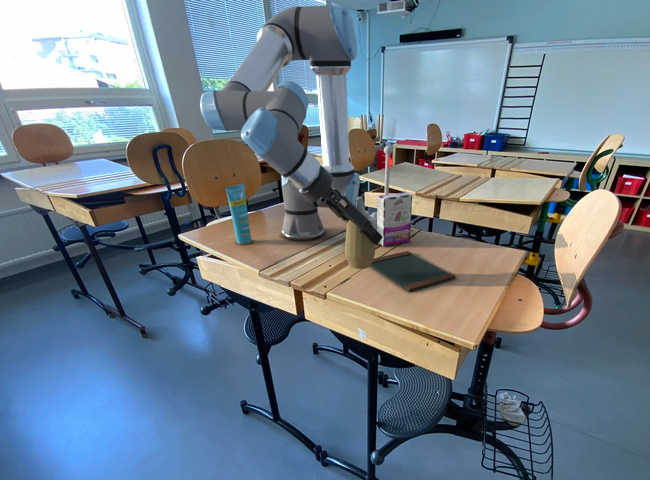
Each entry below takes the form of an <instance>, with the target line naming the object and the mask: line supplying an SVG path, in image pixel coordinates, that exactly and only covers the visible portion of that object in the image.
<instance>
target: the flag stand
mask: <svg viewBox="0 0 650 480" xmlns="http://www.w3.org/2000/svg"><path fill="white" fill-rule="evenodd" d="M383 152H384V154H385V166H384V167H385V170H384V195H388V194H390V193H389V191H390V168H391V166H393V165H394V161H393V159H392V158H391V155H392V153H393V147H392V146H391V145H386V146H384V148H383ZM369 220H371V221H372V222H373V227H374V228H375V229H376V230H377V211H375V212H374V211H373V212H371V214H369Z"/></svg>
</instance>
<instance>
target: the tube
mask: <svg viewBox="0 0 650 480" xmlns="http://www.w3.org/2000/svg"><path fill="white" fill-rule="evenodd" d="M225 193H226V196H227V201H228V205H229V209H230V214H231V219H232V224H233V230H234V235H235V240H236V243H237V244H238V245H247V244H250V243H252V235H251V229H250V221H249V213H248V205H247V198H246V197H247V196H246V188H245V183H244V182H243V183H240V184H236V185H232V186H231V185H230V186H226V187H225Z"/></svg>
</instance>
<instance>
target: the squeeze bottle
mask: <svg viewBox="0 0 650 480" xmlns="http://www.w3.org/2000/svg"><path fill="white" fill-rule="evenodd" d="M354 207H355V208H356V209H358V210H359V211H360V212H361V213H362V214H363V215H364V216H365V217H366V218H367V219H368V220H369V215H370V211H368V210H366V209H365V204H364V199H363V197H362V196H358V197H357V200H356V203H355V206H354ZM369 221H371V220H369ZM371 225H372V226H373V222H372V221H371ZM359 230H360V228H358V227H357V226H356V225H355V224H354V223H353V222H351V221H350V220H349V221H348V222H347V223H346V233H345V243H344V244H345V245H344V255H345V258H346V260H347V263H348V266H349V267H350V268H352V269H355V270H366V269H369V268H371V263H372V260H373V259H374V258H375V254H376V245H375V244H374V243H373V242H372V241H371V240H370V239H369V238H368V237H367V236H366V235H365V234H363V233H360V232H358V231H359Z"/></svg>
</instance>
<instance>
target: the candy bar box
mask: <svg viewBox="0 0 650 480" xmlns="http://www.w3.org/2000/svg"><path fill="white" fill-rule="evenodd" d="M376 198H377V199H376V200H377V203H376V208H377V209H376V210H377V211H376V212H377V231H378V232H379V233H380V234H381V235H382V236H383V238H382V239H381V240H380V242H379V243H378V244H377V245H380V246H382V248H383V247H391V246H394V245H399V244H405V243H410V242H411V230H412V229H411V227H412V212H413V210H412V209H413V194H411V193H408V192H398V193H392V194H391V193H389V194H388V195H385V194H381V195H377V196H376Z"/></svg>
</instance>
